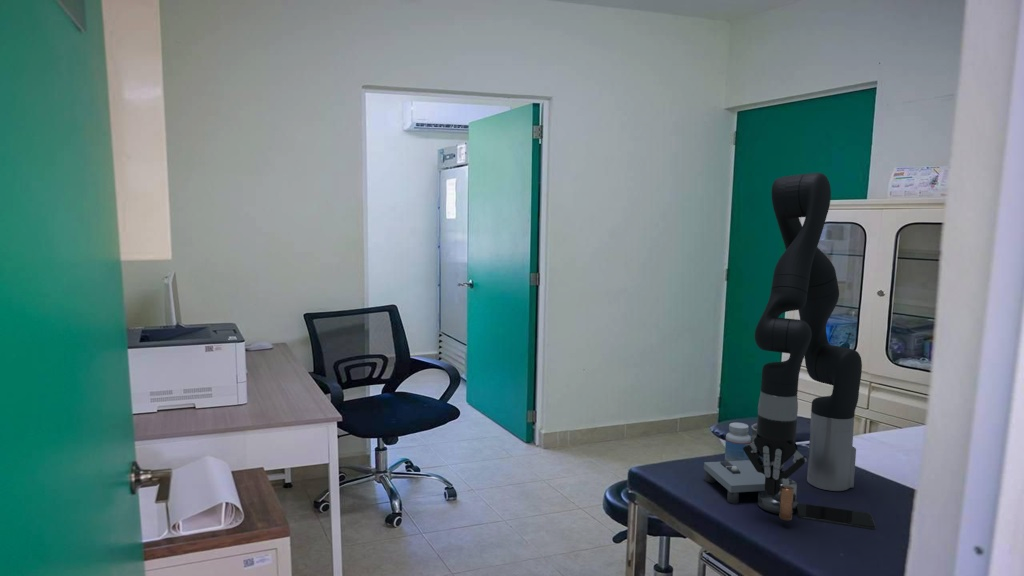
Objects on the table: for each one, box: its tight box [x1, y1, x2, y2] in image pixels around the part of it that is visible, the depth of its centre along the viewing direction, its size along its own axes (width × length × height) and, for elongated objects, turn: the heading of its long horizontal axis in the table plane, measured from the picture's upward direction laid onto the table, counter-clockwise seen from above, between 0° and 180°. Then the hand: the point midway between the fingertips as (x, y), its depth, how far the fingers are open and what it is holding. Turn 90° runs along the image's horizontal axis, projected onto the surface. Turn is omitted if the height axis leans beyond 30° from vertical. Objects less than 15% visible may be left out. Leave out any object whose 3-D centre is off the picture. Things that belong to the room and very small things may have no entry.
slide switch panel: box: [703, 460, 765, 505], centre depth 156 cm, size 12×14×6 cm
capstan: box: [757, 477, 798, 521], centre depth 144 cm, size 14×8×8 cm, turn 161°
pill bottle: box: [724, 422, 752, 461], centre depth 169 cm, size 6×6×11 cm
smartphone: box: [795, 502, 877, 530], centre depth 143 cm, size 7×1×15 cm
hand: (771, 494), depth 141 cm, fingers closed
